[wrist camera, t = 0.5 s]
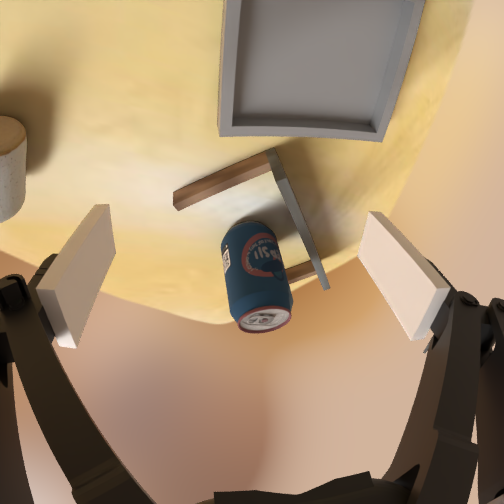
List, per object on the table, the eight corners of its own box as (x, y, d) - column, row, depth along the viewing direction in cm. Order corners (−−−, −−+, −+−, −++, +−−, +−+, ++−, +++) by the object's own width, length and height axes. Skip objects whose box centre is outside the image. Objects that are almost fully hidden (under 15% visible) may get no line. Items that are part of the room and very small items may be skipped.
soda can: (283, 222, 39) (309, 307, 32) (260, 256, 44) (278, 336, 36) (231, 212, 36) (247, 303, 29) (212, 250, 41) (223, 335, 34)
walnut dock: (250, 286, 49) (256, 314, 46) (173, 192, 32) (172, 226, 29) (320, 260, 47) (330, 288, 44) (274, 147, 30) (286, 177, 27)
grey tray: (227, -47, 15) (231, -49, 13) (409, -8, 17) (426, -3, 16) (217, 123, 27) (219, 136, 26) (371, 129, 30) (382, 142, 28)
